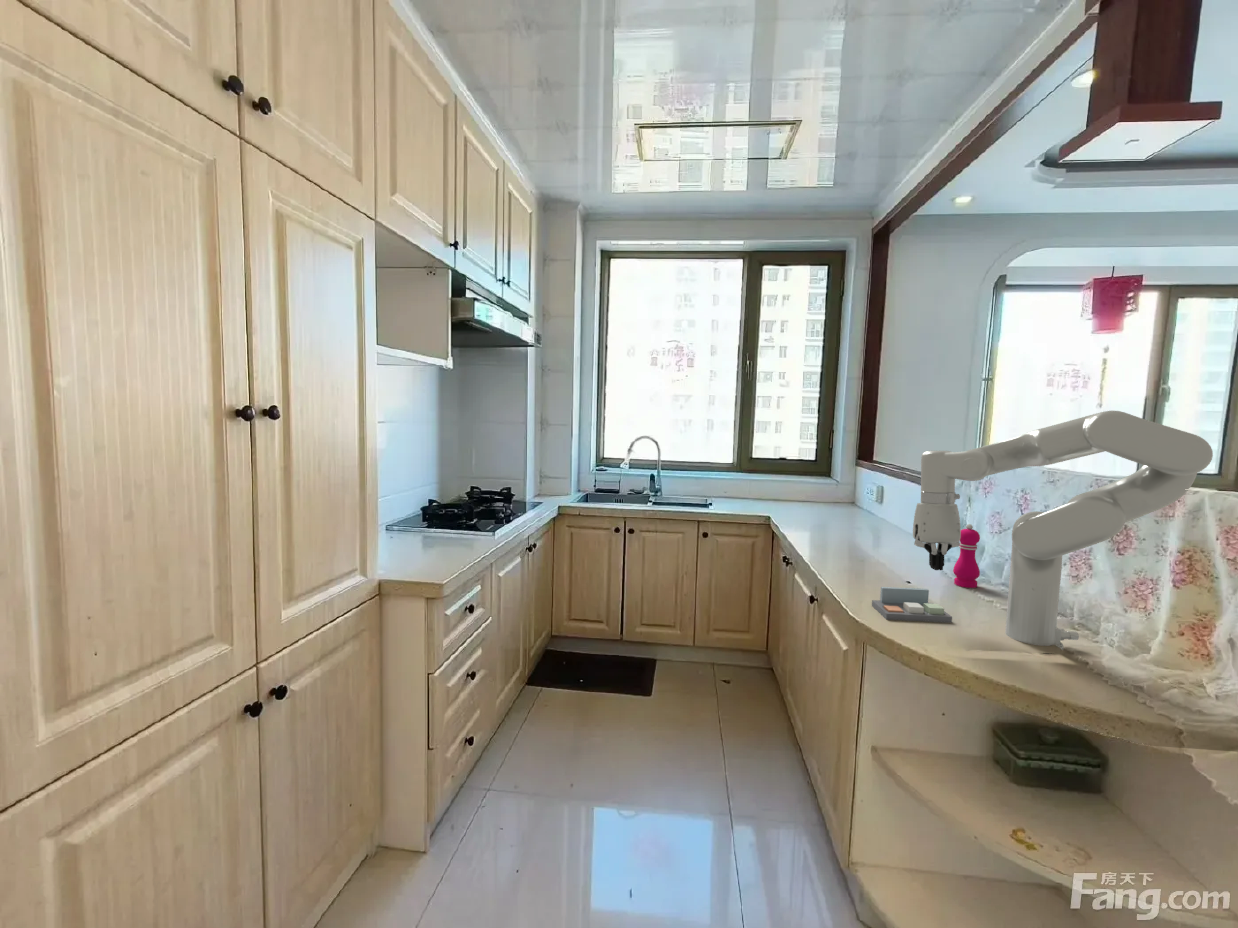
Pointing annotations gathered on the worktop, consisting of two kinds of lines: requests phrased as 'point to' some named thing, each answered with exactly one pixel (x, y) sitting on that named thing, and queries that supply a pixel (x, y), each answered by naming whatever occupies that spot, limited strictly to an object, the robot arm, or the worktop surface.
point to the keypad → (901, 595)
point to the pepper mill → (967, 559)
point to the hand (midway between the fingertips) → (936, 568)
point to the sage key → (933, 608)
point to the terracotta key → (893, 609)
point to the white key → (913, 607)
